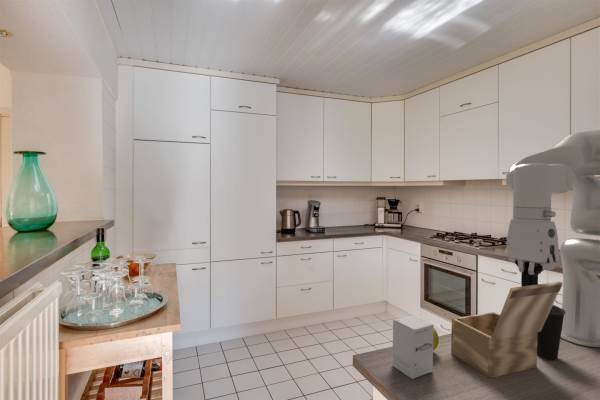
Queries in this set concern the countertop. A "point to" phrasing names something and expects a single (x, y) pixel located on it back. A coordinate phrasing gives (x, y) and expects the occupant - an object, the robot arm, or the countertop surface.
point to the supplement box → (413, 346)
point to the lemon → (435, 339)
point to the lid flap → (526, 310)
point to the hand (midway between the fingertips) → (529, 289)
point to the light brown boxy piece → (491, 346)
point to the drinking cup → (550, 334)
